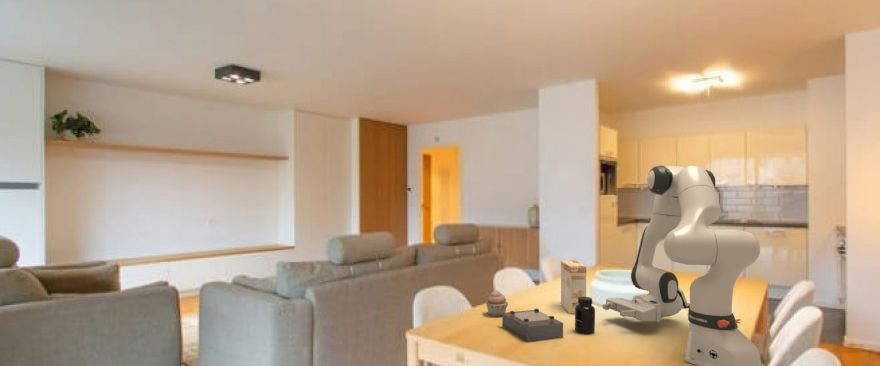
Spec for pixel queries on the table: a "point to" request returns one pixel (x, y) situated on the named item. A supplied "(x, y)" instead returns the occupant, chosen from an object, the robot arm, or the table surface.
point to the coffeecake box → (572, 283)
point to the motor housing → (532, 325)
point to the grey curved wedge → (683, 298)
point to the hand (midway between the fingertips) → (612, 310)
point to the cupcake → (496, 304)
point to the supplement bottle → (585, 316)
